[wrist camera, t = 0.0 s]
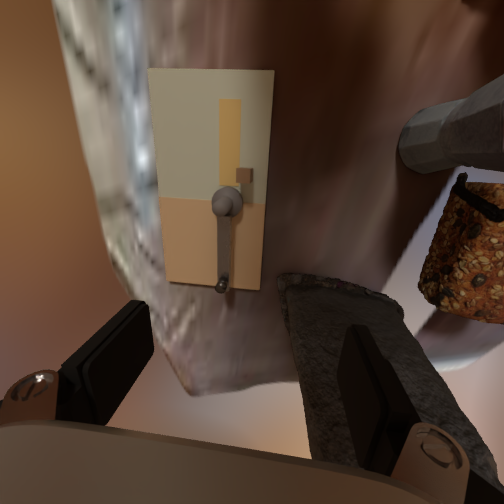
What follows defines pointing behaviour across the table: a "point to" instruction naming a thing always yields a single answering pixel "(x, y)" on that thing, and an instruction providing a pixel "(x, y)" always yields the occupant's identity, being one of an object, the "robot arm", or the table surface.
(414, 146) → the moka pot
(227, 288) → the swing bar
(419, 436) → the robot arm
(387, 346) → the stone sculpture
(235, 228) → the door and jamb board
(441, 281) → the bread
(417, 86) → the table surface
